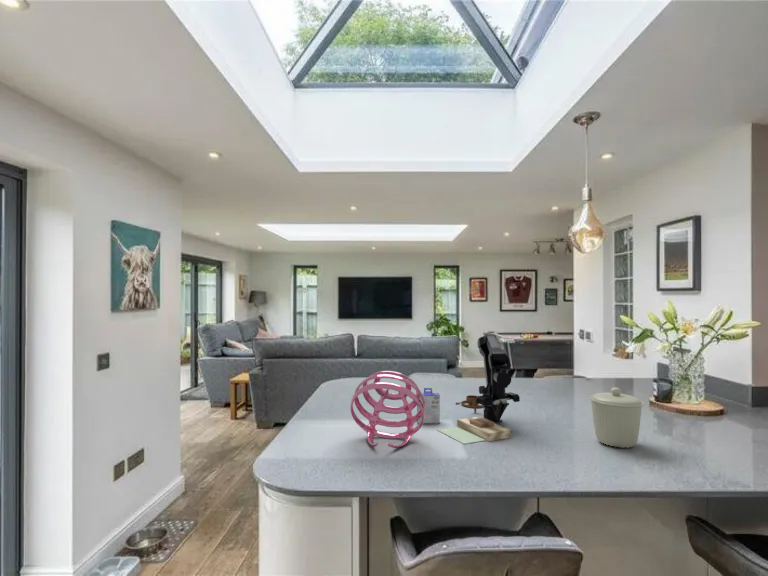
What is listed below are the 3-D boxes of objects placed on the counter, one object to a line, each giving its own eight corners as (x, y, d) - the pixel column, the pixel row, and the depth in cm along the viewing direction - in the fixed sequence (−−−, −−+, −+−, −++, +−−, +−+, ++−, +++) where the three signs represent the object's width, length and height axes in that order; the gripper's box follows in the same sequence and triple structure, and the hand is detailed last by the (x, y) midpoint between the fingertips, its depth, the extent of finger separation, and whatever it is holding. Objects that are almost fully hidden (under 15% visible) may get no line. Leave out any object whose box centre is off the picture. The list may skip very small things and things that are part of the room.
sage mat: (457, 427, 176) (457, 426, 176) (485, 440, 160) (485, 439, 160) (437, 430, 172) (437, 429, 172) (464, 444, 156) (464, 443, 156)
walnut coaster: (483, 421, 175) (483, 417, 176) (494, 425, 169) (494, 422, 169) (469, 423, 172) (469, 419, 172) (480, 428, 166) (480, 424, 166)
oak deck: (478, 423, 182) (478, 416, 182) (510, 437, 164) (510, 429, 164) (457, 426, 178) (457, 419, 178) (488, 441, 160) (488, 433, 160)
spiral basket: (405, 405, 134) (413, 349, 157) (329, 418, 144) (347, 363, 166) (433, 460, 147) (437, 401, 170) (361, 468, 156) (374, 411, 179)
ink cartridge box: (438, 420, 187) (438, 387, 187) (440, 423, 181) (440, 390, 182) (416, 420, 187) (416, 387, 187) (417, 423, 181) (417, 390, 182)
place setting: (494, 406, 213) (494, 395, 213) (477, 415, 197) (477, 402, 198) (463, 401, 224) (463, 390, 224) (444, 409, 208) (444, 397, 208)
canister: (624, 455, 146) (624, 394, 147) (579, 440, 162) (578, 385, 163) (655, 447, 154) (654, 390, 155) (609, 433, 170) (608, 381, 171)
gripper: (502, 376, 186) (502, 412, 186) (468, 380, 178) (468, 417, 178) (520, 381, 176) (520, 419, 176) (485, 385, 168) (485, 424, 168)
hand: (498, 419), depth 175 cm, fingers closed
